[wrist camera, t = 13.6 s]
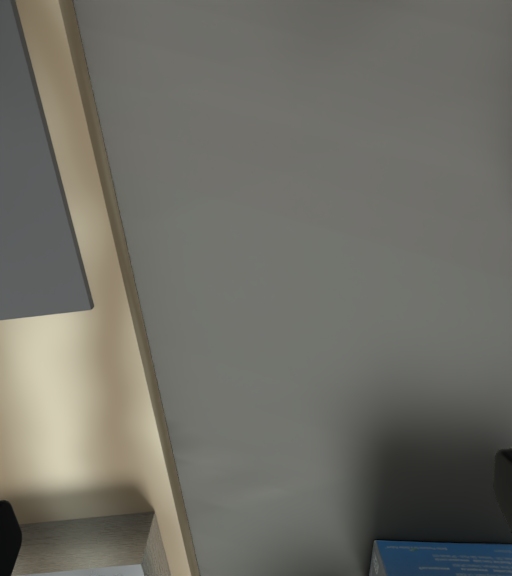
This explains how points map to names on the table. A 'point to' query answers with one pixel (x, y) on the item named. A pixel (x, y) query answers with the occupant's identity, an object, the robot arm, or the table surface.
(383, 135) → the table surface
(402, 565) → the label tape box
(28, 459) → the birch board
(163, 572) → the square metal frame plate
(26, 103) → the dark gray rubber pad
